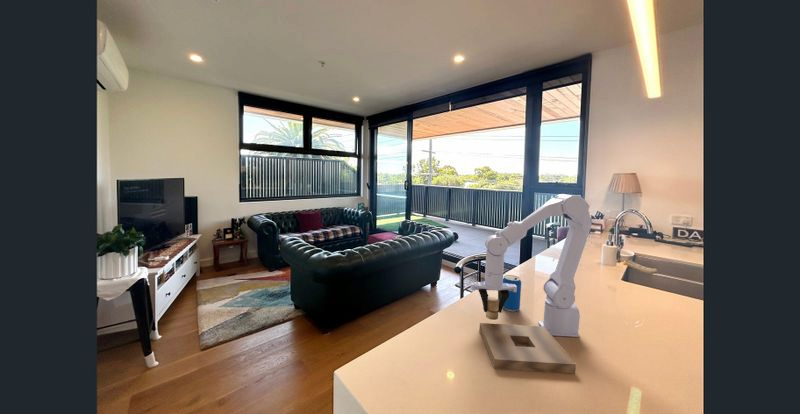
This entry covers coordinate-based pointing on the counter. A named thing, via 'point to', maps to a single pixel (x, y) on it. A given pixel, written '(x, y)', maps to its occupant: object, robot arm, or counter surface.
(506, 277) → the beverage can
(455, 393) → the counter surface
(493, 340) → the hole board
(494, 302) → the oak peg
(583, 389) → the counter surface
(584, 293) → the counter surface
